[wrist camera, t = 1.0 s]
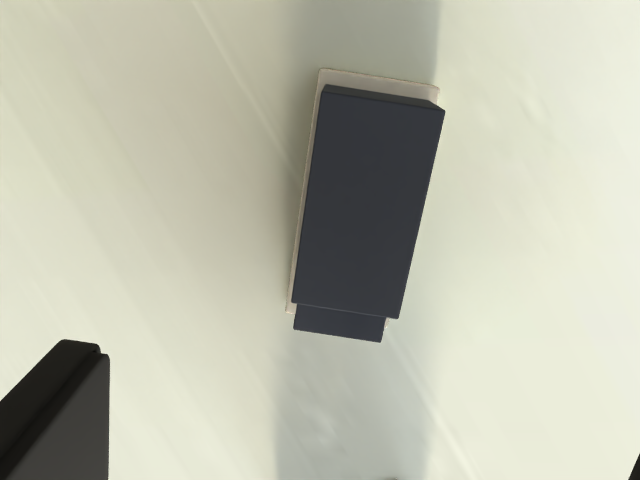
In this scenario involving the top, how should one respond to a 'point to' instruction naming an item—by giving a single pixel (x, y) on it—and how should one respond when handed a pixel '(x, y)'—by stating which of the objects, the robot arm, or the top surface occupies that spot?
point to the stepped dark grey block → (361, 202)
